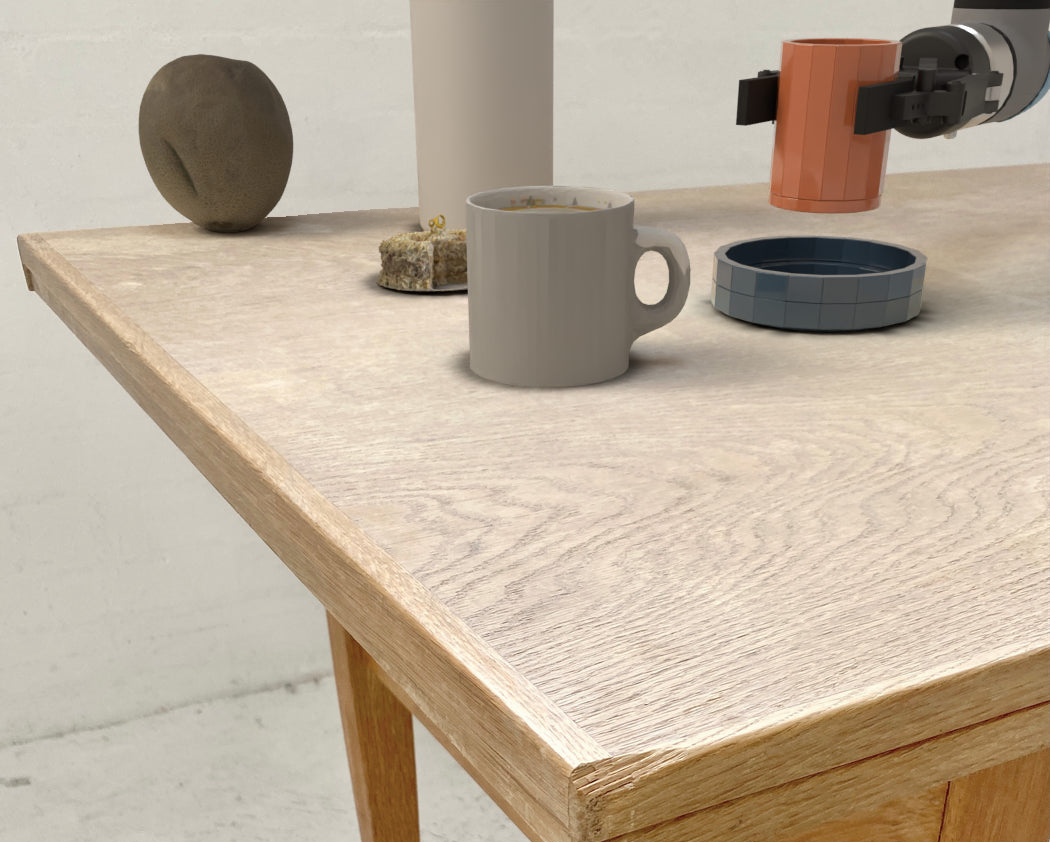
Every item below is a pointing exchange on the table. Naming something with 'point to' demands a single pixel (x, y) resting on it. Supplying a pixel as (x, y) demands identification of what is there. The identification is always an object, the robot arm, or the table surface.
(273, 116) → the brown rounded stone
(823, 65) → the tumbler
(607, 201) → the coffee mug
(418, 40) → the cylinder vase
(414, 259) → the cake
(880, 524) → the table surface
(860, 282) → the bowl
